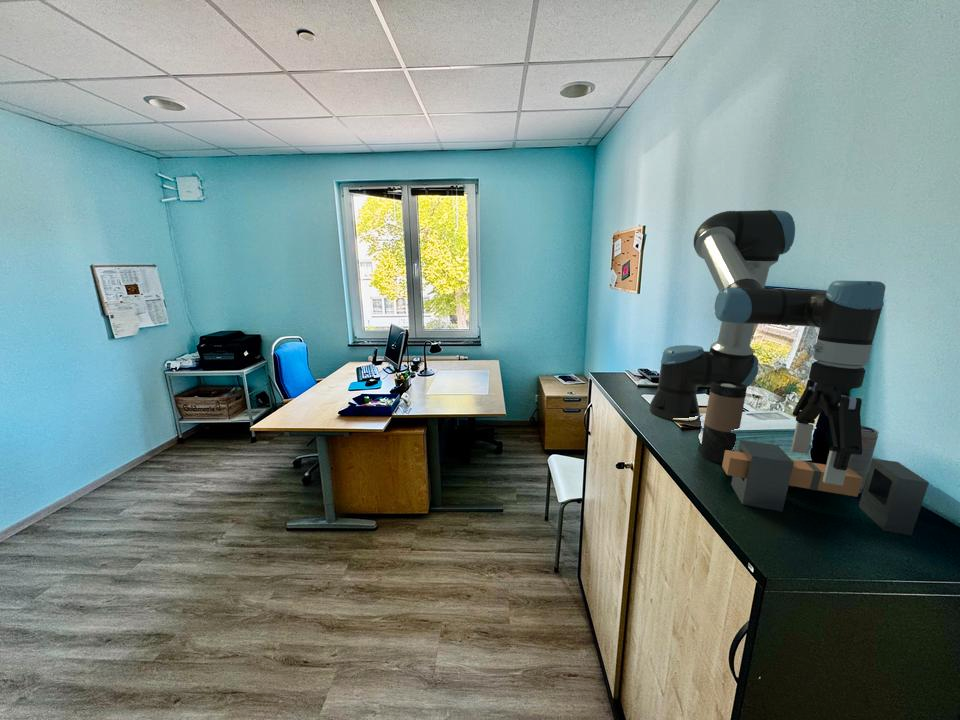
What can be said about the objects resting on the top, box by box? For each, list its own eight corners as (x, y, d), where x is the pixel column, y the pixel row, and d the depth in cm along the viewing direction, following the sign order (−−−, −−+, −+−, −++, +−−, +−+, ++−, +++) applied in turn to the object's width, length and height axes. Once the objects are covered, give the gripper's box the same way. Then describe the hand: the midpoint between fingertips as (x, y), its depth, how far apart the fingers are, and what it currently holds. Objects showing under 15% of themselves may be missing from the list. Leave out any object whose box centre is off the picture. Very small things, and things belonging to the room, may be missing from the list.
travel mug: (738, 465, 94) (753, 389, 90) (705, 462, 96) (718, 387, 91) (725, 452, 101) (739, 380, 97) (694, 448, 103) (706, 378, 98)
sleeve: (731, 484, 86) (739, 439, 83) (767, 490, 83) (777, 445, 81) (742, 504, 78) (752, 456, 76) (782, 511, 76) (794, 462, 74)
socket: (858, 506, 78) (872, 458, 76) (883, 510, 77) (897, 461, 75) (883, 530, 71) (900, 478, 68) (911, 535, 70) (928, 482, 67)
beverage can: (855, 486, 86) (872, 425, 82) (865, 498, 81) (884, 434, 78) (826, 481, 88) (842, 421, 84) (835, 492, 83) (852, 429, 80)
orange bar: (721, 466, 84) (725, 449, 83) (845, 486, 77) (850, 468, 76) (727, 475, 80) (730, 457, 79) (857, 497, 73) (862, 478, 72)
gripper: (786, 350, 84) (768, 439, 88) (852, 377, 61) (823, 495, 65) (828, 353, 81) (807, 444, 86) (912, 382, 58) (878, 504, 63)
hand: (814, 466), depth 76 cm, fingers open, 13 cm apart
